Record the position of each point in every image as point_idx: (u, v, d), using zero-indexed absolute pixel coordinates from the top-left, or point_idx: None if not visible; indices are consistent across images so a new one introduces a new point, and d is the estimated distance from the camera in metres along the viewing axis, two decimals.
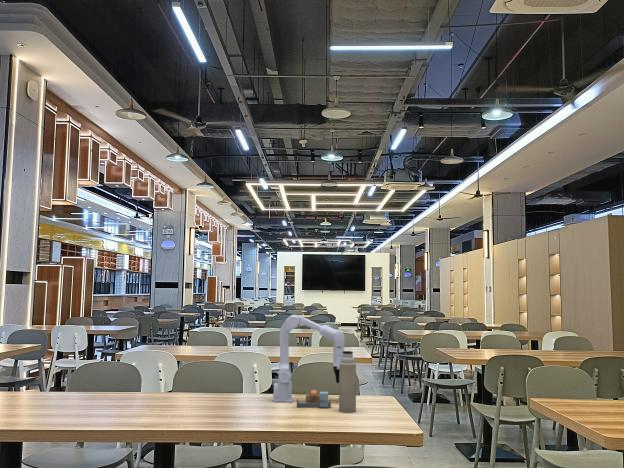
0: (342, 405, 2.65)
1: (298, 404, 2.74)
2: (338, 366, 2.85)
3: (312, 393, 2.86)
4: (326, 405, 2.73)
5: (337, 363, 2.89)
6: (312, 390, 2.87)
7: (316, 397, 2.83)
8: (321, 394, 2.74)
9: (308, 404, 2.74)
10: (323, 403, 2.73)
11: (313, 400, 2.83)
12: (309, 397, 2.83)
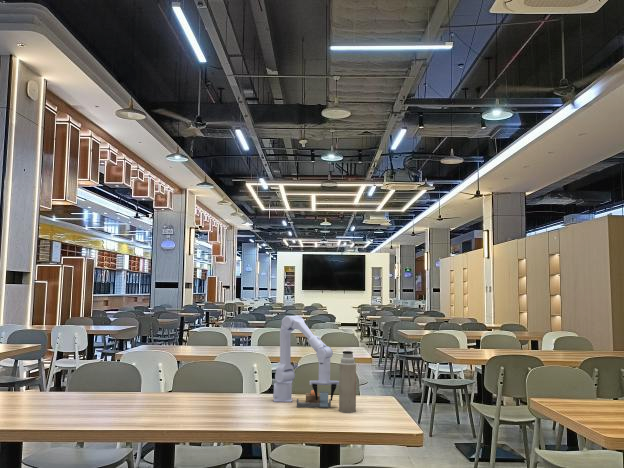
0: (342, 405, 2.65)
1: (298, 404, 2.74)
2: None
3: (312, 393, 2.86)
4: (326, 405, 2.73)
5: None
6: (312, 390, 2.87)
7: None
8: (321, 394, 2.74)
9: (308, 404, 2.74)
10: (323, 403, 2.73)
11: (313, 400, 2.83)
12: (309, 397, 2.83)
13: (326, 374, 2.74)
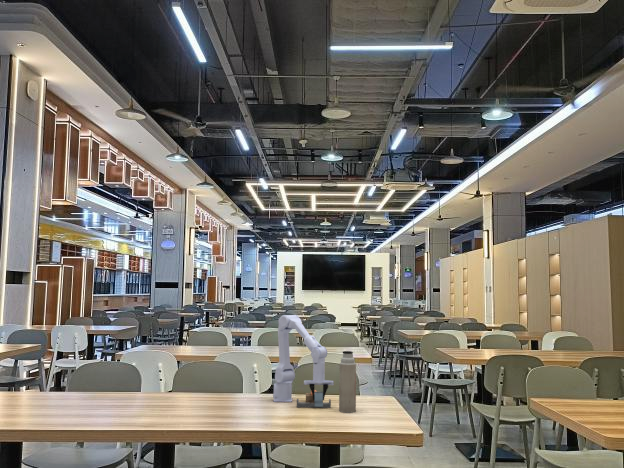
0: (342, 405, 2.65)
1: (298, 404, 2.74)
2: (304, 381, 2.77)
3: None
4: (321, 405, 2.73)
5: None
6: None
7: None
8: (316, 394, 2.74)
9: (308, 404, 2.74)
10: (318, 403, 2.73)
11: (313, 400, 2.83)
12: (309, 397, 2.83)
13: (320, 374, 2.74)
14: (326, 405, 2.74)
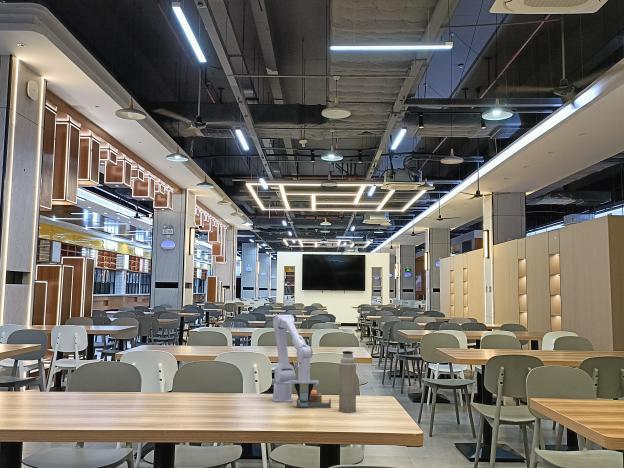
0: (342, 405, 2.65)
1: (298, 404, 2.74)
2: (289, 381, 2.77)
3: (312, 393, 2.86)
4: (306, 405, 2.73)
5: None
6: (312, 390, 2.87)
7: (316, 397, 2.83)
8: (301, 394, 2.74)
9: (308, 404, 2.74)
10: (303, 403, 2.73)
11: (313, 400, 2.83)
12: (309, 397, 2.83)
13: (305, 374, 2.74)
14: (326, 405, 2.74)
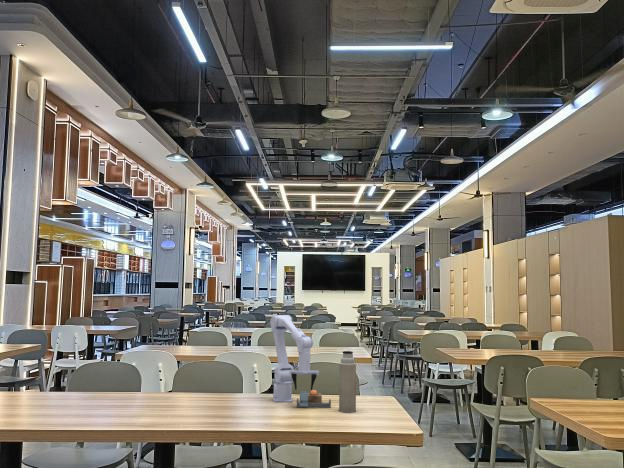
0: (342, 405, 2.65)
1: (298, 404, 2.74)
2: (289, 371, 2.77)
3: (312, 393, 2.86)
4: (306, 405, 2.73)
5: None
6: (312, 390, 2.87)
7: (316, 397, 2.83)
8: (301, 394, 2.74)
9: (308, 404, 2.74)
10: (303, 403, 2.73)
11: (313, 400, 2.83)
12: (309, 397, 2.83)
13: (305, 364, 2.75)
14: (326, 405, 2.74)
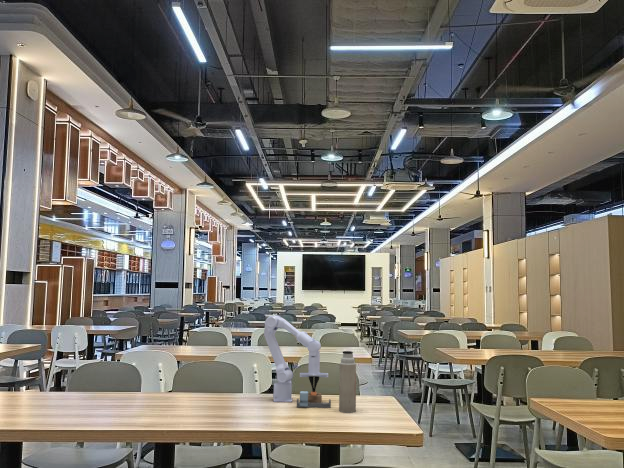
0: (342, 405, 2.65)
1: (298, 404, 2.74)
2: None
3: (312, 394, 2.86)
4: (306, 405, 2.73)
5: None
6: None
7: (316, 397, 2.83)
8: (301, 394, 2.74)
9: (308, 404, 2.74)
10: (303, 403, 2.73)
11: (313, 400, 2.83)
12: (309, 397, 2.83)
13: (315, 367, 2.86)
14: (326, 405, 2.74)
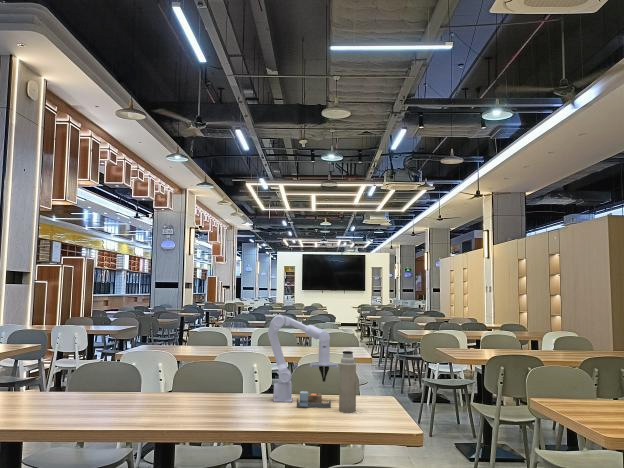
0: (342, 405, 2.65)
1: (298, 404, 2.74)
2: (310, 364, 2.93)
3: None
4: (306, 405, 2.73)
5: None
6: None
7: (316, 397, 2.83)
8: (301, 394, 2.74)
9: (308, 404, 2.74)
10: (303, 403, 2.73)
11: (313, 400, 2.83)
12: (309, 397, 2.83)
13: (325, 357, 2.90)
14: (326, 405, 2.74)
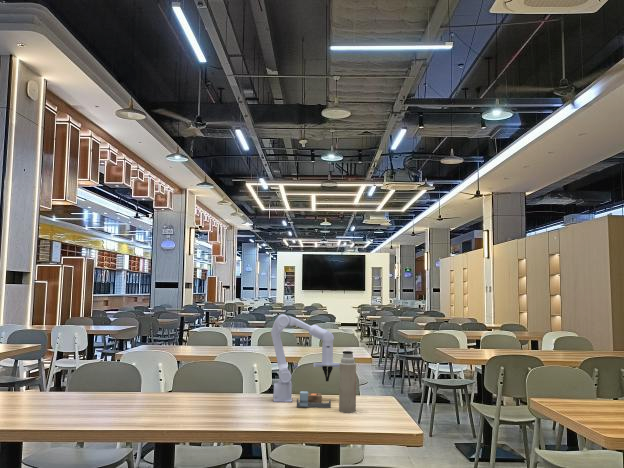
0: (342, 405, 2.65)
1: (298, 404, 2.74)
2: None
3: None
4: (306, 405, 2.73)
5: None
6: None
7: (316, 397, 2.83)
8: (301, 394, 2.74)
9: (308, 404, 2.74)
10: (303, 403, 2.73)
11: (313, 400, 2.83)
12: (309, 397, 2.83)
13: (329, 357, 2.92)
14: (326, 405, 2.74)
